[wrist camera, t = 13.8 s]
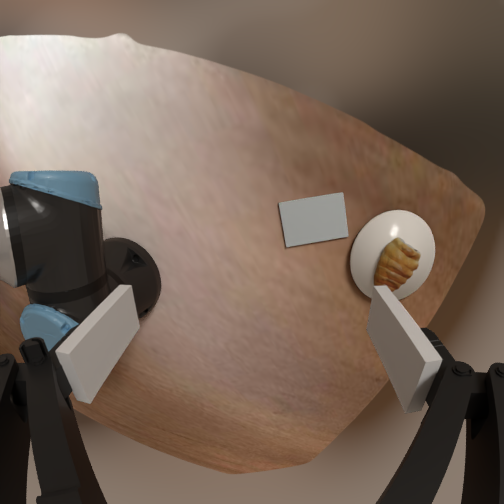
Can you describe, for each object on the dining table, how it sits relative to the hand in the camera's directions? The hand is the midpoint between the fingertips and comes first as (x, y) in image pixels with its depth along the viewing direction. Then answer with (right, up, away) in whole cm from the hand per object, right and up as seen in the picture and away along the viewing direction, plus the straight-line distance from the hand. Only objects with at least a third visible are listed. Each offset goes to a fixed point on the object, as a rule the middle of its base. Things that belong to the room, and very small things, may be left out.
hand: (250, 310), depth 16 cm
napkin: (+10, +8, +30) cm, 33 cm away
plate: (+24, +2, +31) cm, 39 cm away
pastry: (+24, +1, +31) cm, 39 cm away
